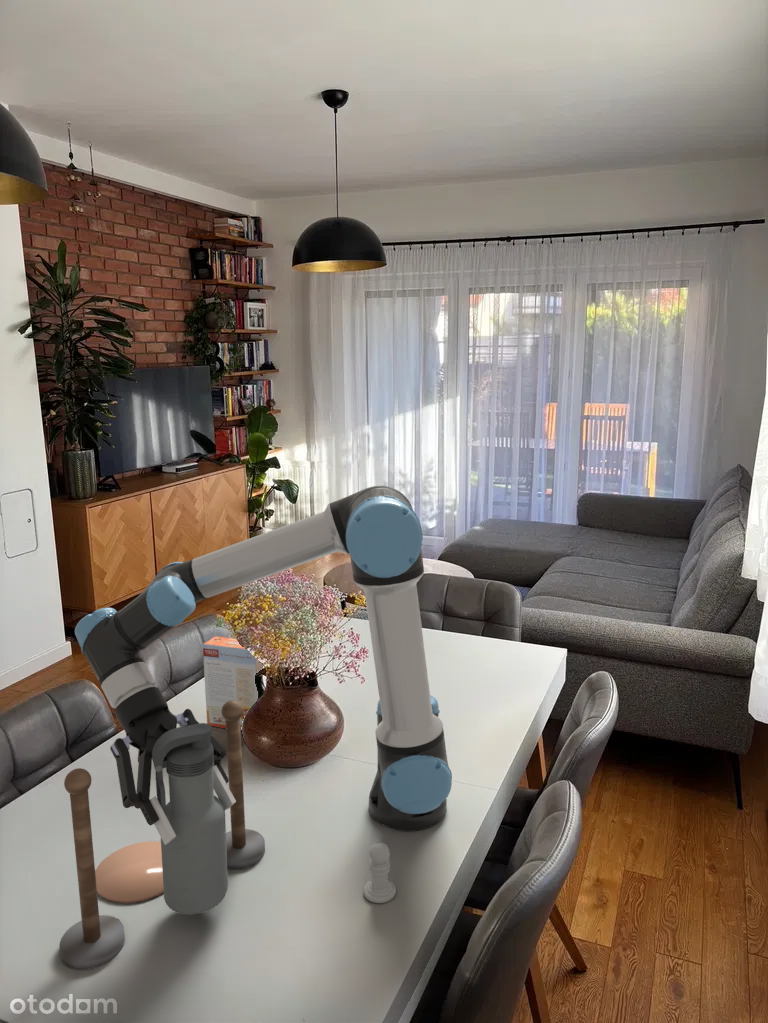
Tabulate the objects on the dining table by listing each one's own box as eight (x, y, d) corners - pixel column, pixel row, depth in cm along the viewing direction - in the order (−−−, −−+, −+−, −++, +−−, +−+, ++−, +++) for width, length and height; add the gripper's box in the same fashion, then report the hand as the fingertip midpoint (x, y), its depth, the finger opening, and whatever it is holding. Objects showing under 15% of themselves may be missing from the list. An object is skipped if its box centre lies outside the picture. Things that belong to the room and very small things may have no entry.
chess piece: (400, 901, 122) (400, 851, 120) (368, 907, 120) (367, 857, 119) (390, 879, 127) (390, 831, 125) (359, 885, 125) (359, 837, 124)
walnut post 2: (274, 843, 136) (268, 695, 131) (246, 874, 128) (238, 717, 123) (233, 831, 140) (225, 686, 134) (202, 860, 132) (193, 707, 126)
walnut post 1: (137, 934, 115) (124, 761, 109) (93, 977, 107) (76, 793, 101) (92, 916, 119) (77, 748, 113) (46, 957, 111) (27, 778, 105)
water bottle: (166, 925, 113) (156, 752, 107) (157, 884, 121) (148, 723, 116) (234, 906, 117) (228, 739, 111) (220, 868, 125) (214, 711, 120)
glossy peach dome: (203, 857, 133) (203, 854, 133) (144, 913, 119) (143, 910, 119) (137, 836, 139) (136, 833, 139) (73, 887, 125) (73, 884, 125)
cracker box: (270, 723, 181) (267, 641, 177) (258, 735, 176) (255, 650, 172) (219, 714, 186) (215, 634, 182) (206, 726, 180) (201, 643, 176)
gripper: (185, 685, 132) (249, 798, 125) (59, 735, 114) (125, 870, 108) (203, 664, 127) (269, 780, 121) (75, 713, 110) (144, 852, 103)
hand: (201, 822), depth 114 cm, fingers closed on water bottle, 10 cm apart
